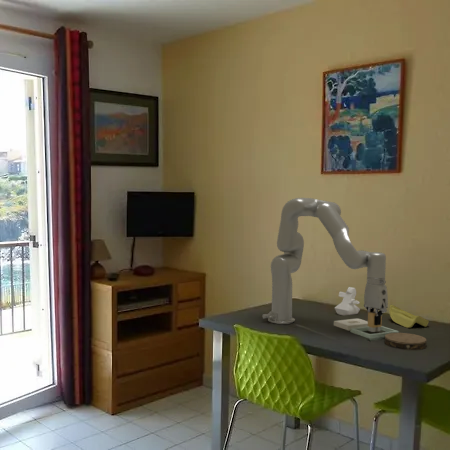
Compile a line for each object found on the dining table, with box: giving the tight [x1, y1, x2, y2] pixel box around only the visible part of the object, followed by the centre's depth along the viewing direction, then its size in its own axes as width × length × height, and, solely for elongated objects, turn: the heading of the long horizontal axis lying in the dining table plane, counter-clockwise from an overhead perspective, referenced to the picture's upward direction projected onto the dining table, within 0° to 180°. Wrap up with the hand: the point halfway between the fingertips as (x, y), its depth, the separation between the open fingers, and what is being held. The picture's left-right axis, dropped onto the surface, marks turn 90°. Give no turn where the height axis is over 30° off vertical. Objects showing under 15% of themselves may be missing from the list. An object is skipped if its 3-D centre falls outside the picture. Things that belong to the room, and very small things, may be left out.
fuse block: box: [333, 317, 368, 331], centre depth 239 cm, size 14×10×3 cm
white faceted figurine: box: [334, 286, 361, 316], centre depth 267 cm, size 8×14×14 cm, turn 36°
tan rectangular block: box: [367, 311, 383, 333], centre depth 226 cm, size 5×3×8 cm, turn 117°
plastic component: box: [388, 304, 430, 329], centre depth 251 cm, size 20×7×10 cm
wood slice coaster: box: [384, 332, 427, 351], centre depth 214 cm, size 16×16×3 cm
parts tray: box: [349, 325, 400, 342], centre depth 227 cm, size 16×12×2 cm
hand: (374, 323), depth 226 cm, fingers closed on tan rectangular block, 2 cm apart
